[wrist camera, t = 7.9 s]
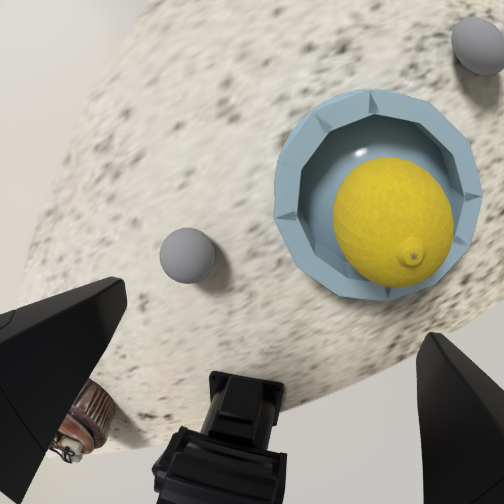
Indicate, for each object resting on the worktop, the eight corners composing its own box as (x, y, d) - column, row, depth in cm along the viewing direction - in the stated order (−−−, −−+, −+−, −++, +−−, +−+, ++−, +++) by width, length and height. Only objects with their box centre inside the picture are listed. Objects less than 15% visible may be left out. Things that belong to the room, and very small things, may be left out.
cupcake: (56, 354, 32) (9, 409, 23) (123, 392, 32) (82, 458, 23) (64, 394, 37) (29, 443, 28) (122, 427, 37) (91, 483, 28)
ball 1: (221, 270, 22) (205, 298, 19) (174, 263, 23) (153, 288, 20) (221, 223, 21) (204, 245, 18) (171, 217, 21) (147, 237, 18)
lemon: (436, 172, 16) (504, 219, 9) (397, 253, 18) (432, 337, 11) (350, 131, 16) (377, 149, 9) (315, 220, 19) (311, 294, 12)
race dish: (438, 289, 20) (450, 312, 17) (269, 267, 21) (262, 290, 19) (478, 115, 14) (500, 118, 12) (282, 77, 16) (276, 72, 14)
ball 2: (490, 84, 13) (519, 83, 10) (442, 67, 14) (466, 62, 11) (490, 34, 12) (518, 25, 9) (442, 16, 12) (465, 2, 9)
